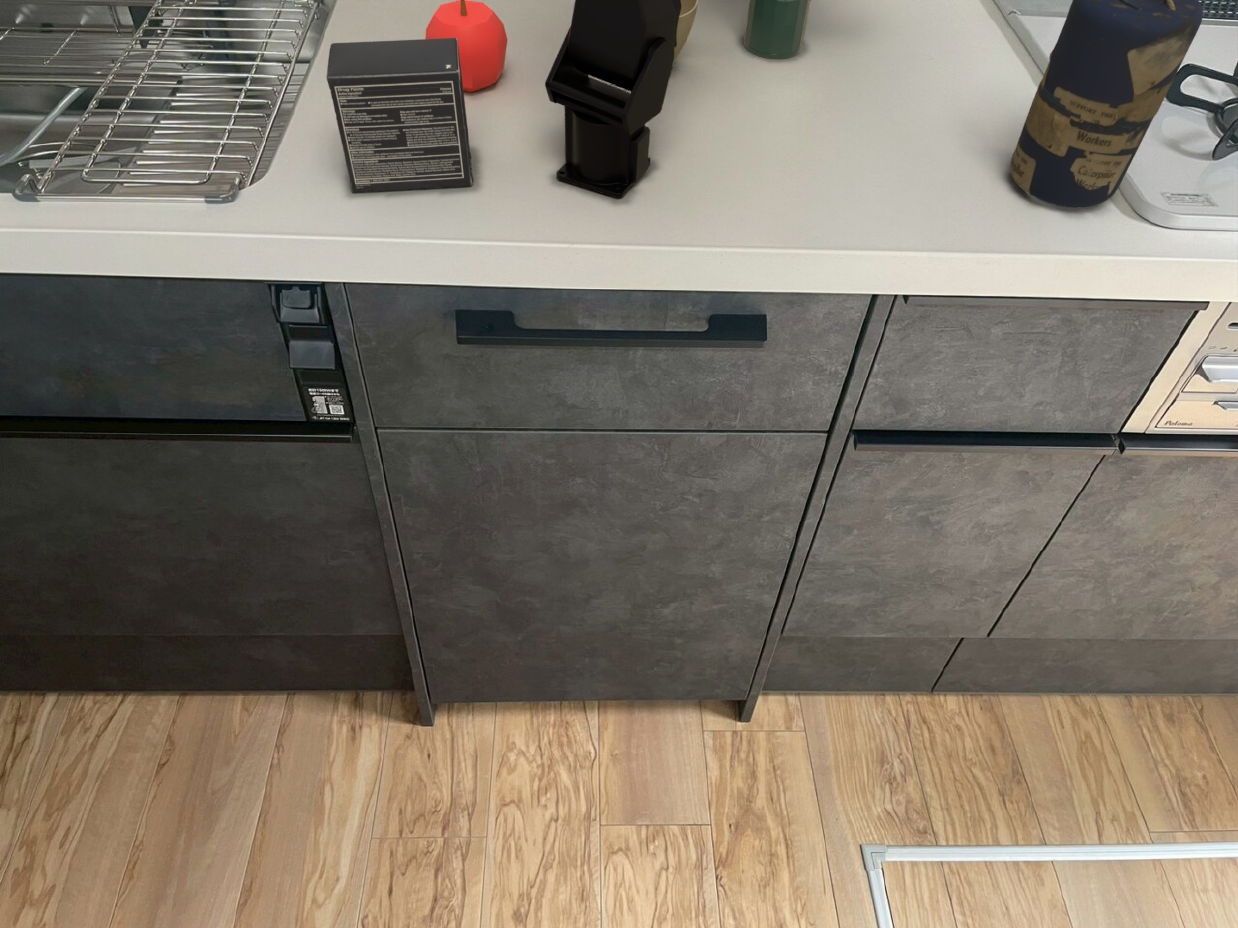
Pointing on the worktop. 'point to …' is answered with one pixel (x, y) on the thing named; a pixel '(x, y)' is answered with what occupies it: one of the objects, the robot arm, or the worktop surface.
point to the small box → (401, 113)
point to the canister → (1100, 96)
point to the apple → (472, 40)
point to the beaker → (776, 27)
